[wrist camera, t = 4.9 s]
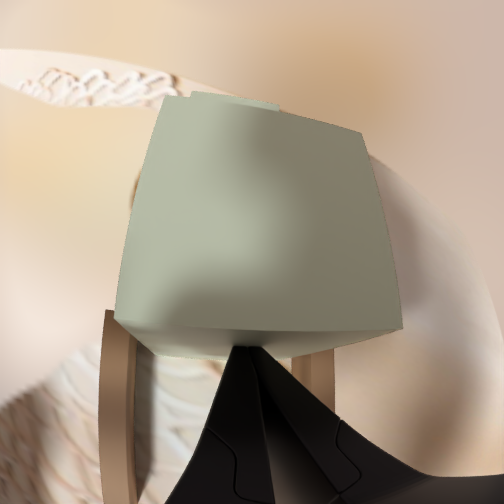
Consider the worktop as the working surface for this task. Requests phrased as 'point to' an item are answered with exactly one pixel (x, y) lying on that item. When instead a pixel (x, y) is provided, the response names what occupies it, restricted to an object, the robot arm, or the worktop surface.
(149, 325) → the key block
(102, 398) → the walnut slot
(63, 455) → the worktop surface
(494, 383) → the worktop surface
